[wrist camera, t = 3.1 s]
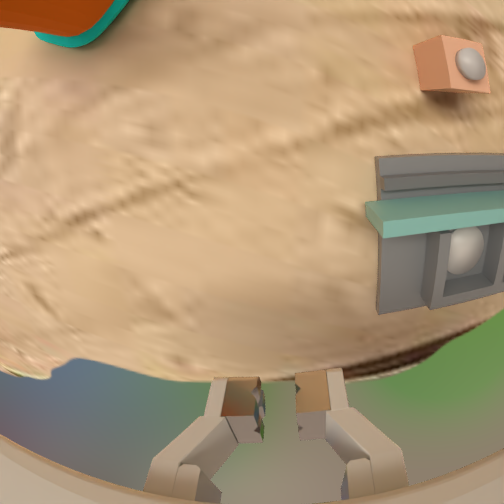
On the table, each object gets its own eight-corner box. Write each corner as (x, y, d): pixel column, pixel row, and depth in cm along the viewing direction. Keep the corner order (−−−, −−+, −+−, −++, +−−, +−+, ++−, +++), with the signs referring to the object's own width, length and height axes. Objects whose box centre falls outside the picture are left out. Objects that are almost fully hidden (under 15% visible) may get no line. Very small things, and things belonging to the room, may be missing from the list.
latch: (514, 189, 19) (542, 204, 16) (514, 201, 20) (541, 217, 16) (365, 201, 22) (383, 221, 18) (365, 216, 22) (383, 238, 18)
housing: (557, 157, 18) (590, 170, 13) (541, 270, 24) (565, 293, 19) (374, 156, 22) (402, 170, 16) (375, 308, 28) (391, 347, 23)
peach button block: (449, 50, 16) (487, 42, 11) (457, 93, 18) (496, 93, 13) (412, 45, 17) (446, 32, 12) (420, 90, 19) (457, 88, 13)
